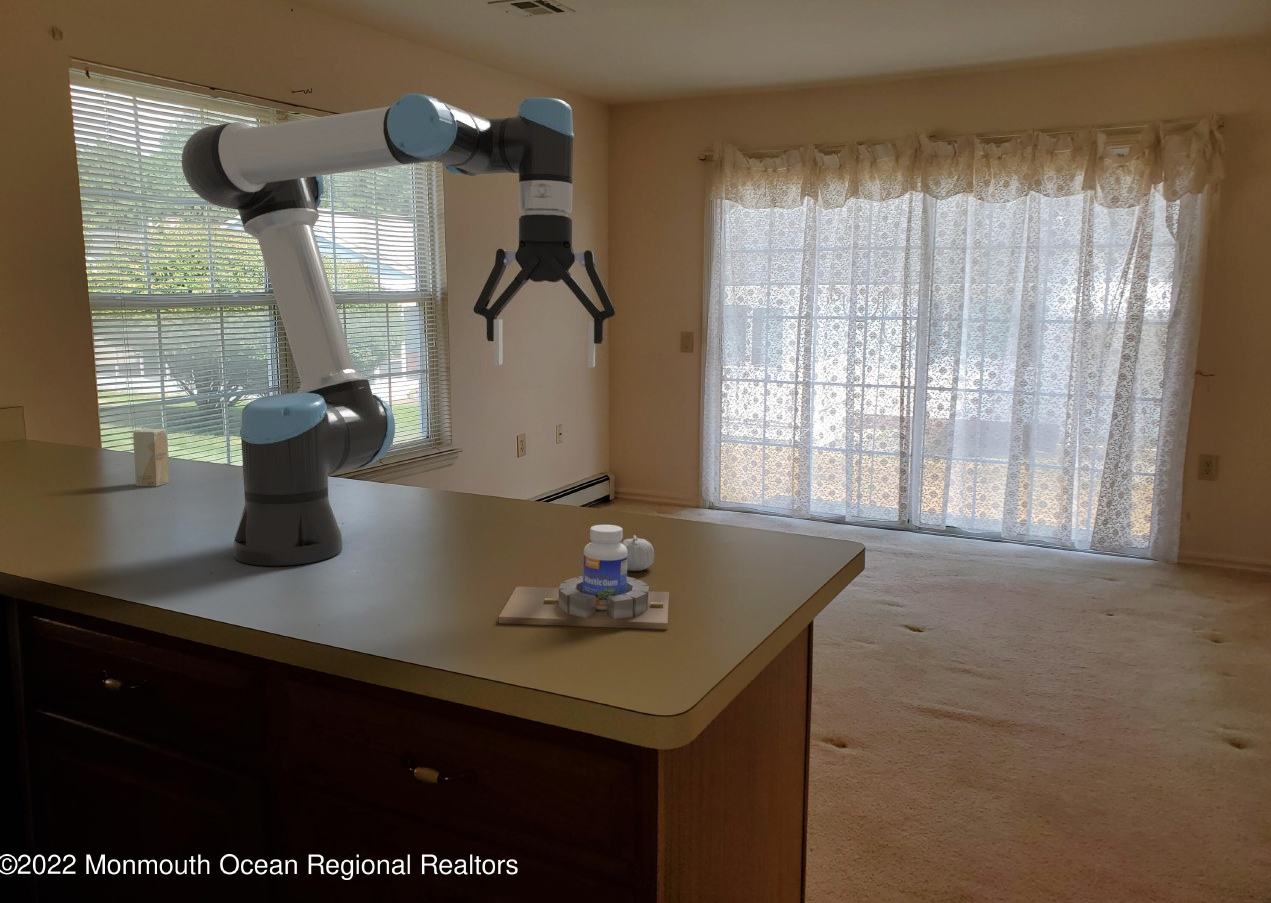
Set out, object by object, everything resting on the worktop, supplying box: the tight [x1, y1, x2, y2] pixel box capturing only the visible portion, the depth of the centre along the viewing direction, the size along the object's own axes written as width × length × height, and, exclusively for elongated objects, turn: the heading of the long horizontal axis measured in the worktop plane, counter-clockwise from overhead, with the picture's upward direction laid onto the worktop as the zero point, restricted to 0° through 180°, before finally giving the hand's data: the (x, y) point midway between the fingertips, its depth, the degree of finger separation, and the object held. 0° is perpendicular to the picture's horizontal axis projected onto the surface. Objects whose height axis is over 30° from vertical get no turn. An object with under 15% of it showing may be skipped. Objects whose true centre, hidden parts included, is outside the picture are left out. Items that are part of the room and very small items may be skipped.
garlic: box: [621, 534, 655, 572], centre depth 133 cm, size 6×5×5 cm
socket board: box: [498, 575, 670, 630], centre depth 115 cm, size 20×12×3 cm, turn 87°
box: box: [132, 428, 170, 487], centre depth 185 cm, size 5×4×11 cm
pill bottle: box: [582, 524, 628, 610], centre depth 114 cm, size 5×5×10 cm
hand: (544, 366), depth 133 cm, fingers open, 13 cm apart
